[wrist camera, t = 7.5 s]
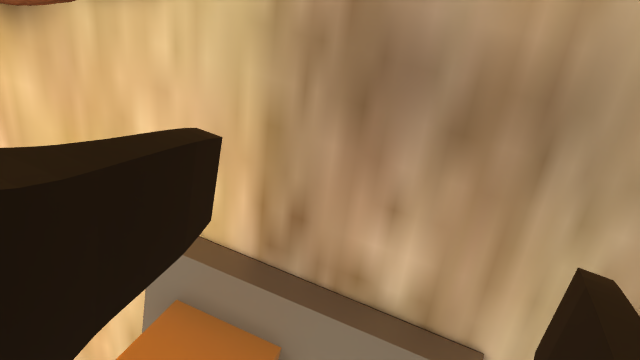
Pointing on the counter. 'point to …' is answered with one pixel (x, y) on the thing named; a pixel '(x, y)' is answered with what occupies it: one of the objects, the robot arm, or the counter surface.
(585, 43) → the counter surface
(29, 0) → the brown curved arch
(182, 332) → the solid orange cube
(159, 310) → the grey flat block
